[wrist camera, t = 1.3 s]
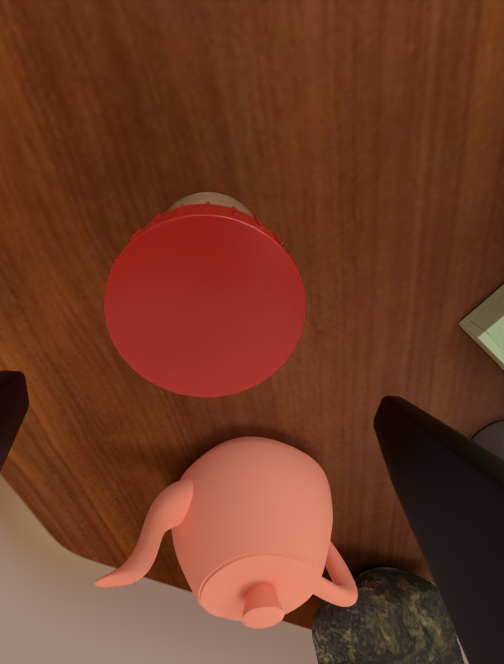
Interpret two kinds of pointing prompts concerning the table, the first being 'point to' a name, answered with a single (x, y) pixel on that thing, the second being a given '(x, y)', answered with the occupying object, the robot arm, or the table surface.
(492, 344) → the tray
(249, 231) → the jar lid
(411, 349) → the table surface
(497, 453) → the bottle
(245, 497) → the teapot
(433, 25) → the table surface
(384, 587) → the stone
